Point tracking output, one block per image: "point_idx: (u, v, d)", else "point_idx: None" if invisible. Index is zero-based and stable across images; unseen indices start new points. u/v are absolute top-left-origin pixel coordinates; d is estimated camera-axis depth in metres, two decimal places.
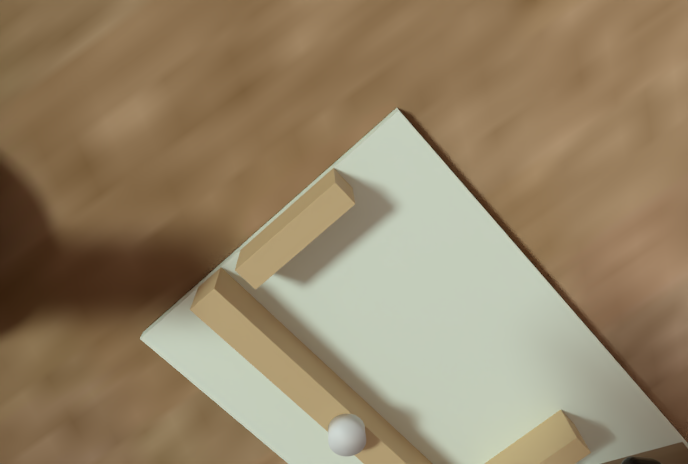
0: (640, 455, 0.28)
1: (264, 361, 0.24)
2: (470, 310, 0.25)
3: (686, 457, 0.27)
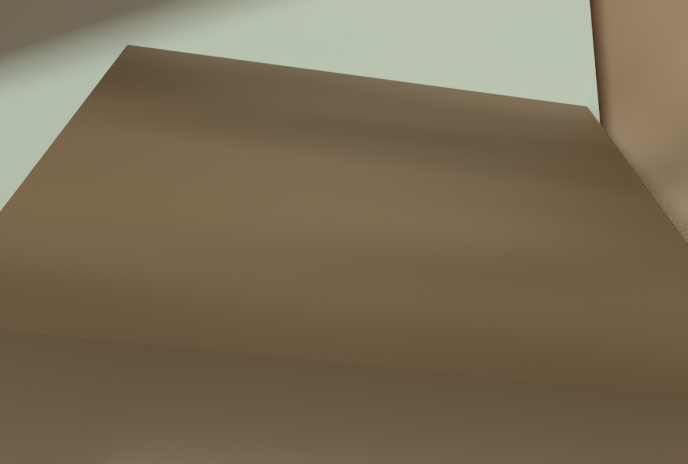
0: (421, 88, 0.07)
1: None
2: None
3: (585, 139, 0.07)
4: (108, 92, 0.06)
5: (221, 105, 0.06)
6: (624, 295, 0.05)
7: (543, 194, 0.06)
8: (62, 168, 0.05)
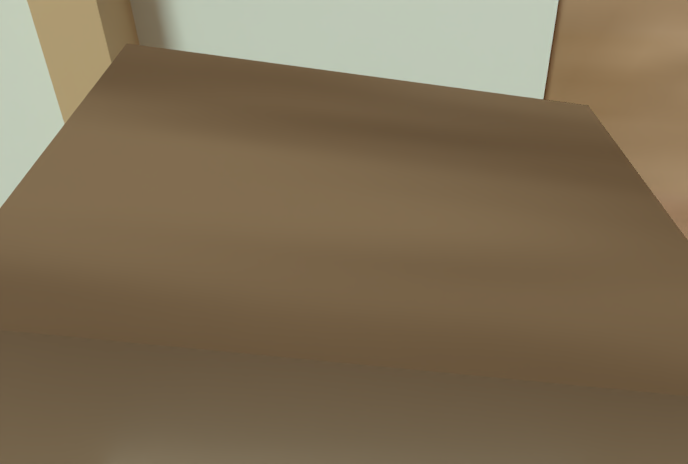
0: (422, 87, 0.07)
1: (53, 9, 0.12)
2: None
3: (586, 138, 0.07)
4: (106, 90, 0.06)
5: (220, 104, 0.06)
6: (626, 295, 0.04)
7: (545, 194, 0.05)
8: (60, 168, 0.05)
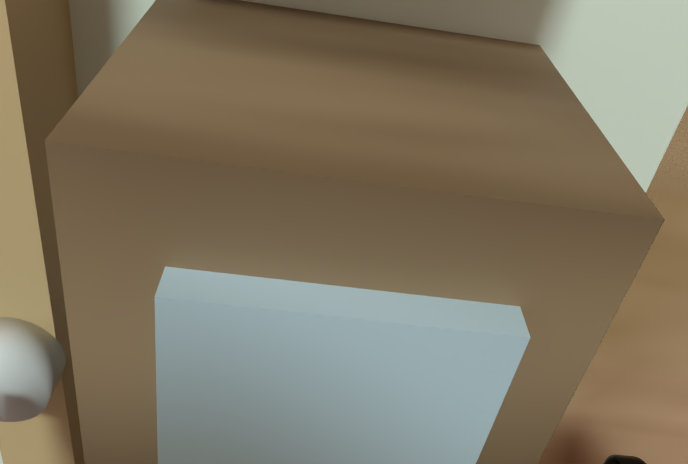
0: (403, 27, 0.09)
1: None
2: None
3: (534, 66, 0.08)
4: (154, 19, 0.07)
5: (242, 31, 0.08)
6: (545, 156, 0.06)
7: (494, 97, 0.07)
8: (127, 64, 0.06)
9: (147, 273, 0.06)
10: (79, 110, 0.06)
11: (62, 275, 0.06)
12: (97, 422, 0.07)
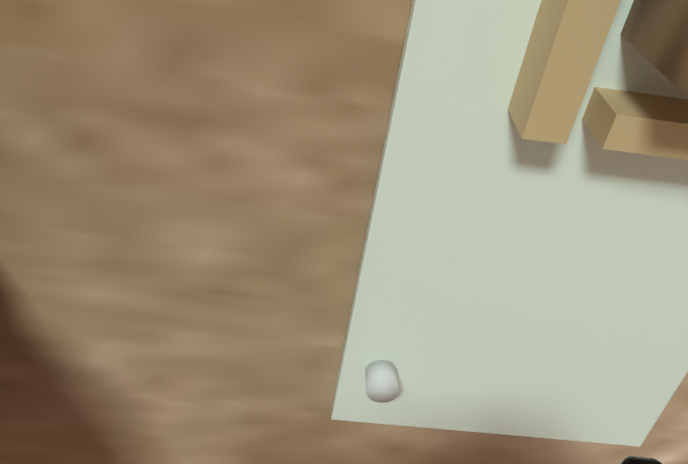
0: None
1: None
2: None
3: None
4: None
5: None
6: None
7: None
8: None
9: None
10: None
11: None
12: None
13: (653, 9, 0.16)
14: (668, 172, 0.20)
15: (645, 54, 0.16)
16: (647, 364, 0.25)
